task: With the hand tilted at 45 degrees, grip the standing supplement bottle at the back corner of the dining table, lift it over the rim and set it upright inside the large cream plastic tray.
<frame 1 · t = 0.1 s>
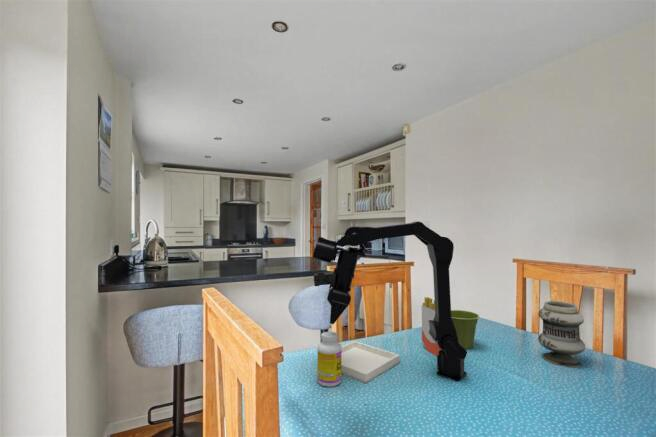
hand: (332, 318, 92), 15 cm above the table, tool pointing down, fingers open, 9 cm apart
tray: (359, 363, 98), on the table
supplement bottle: (329, 382, 86), on the table
french fries container: (436, 352, 107), on the table
plant pot: (461, 346, 113), on the table
apothecary jar: (561, 360, 100), on the table
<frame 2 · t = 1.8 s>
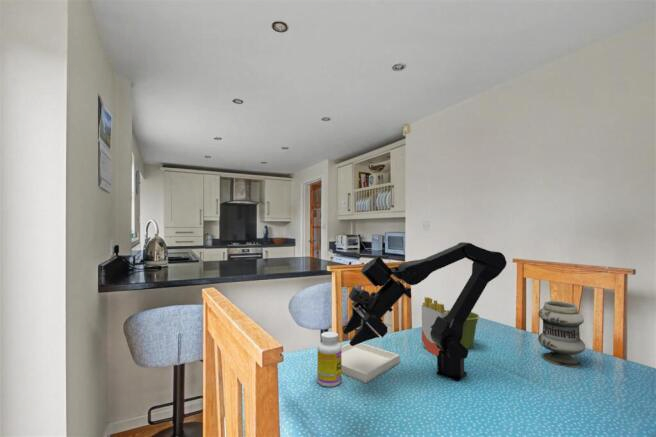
hand: (347, 338, 87), 11 cm above the table, tool tilted 45°, fingers open, 9 cm apart
nothing on the table moved.
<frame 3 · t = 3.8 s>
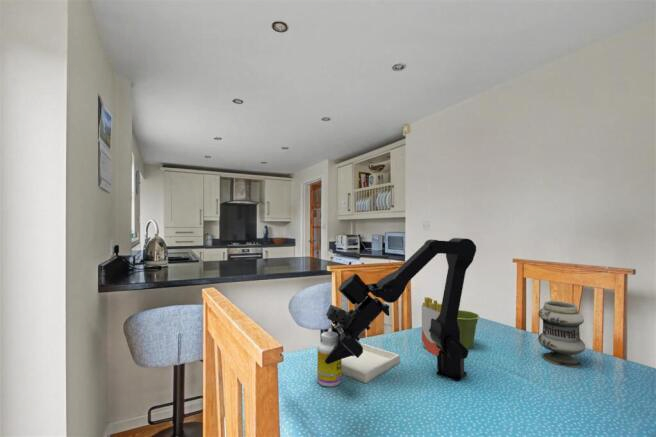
hand: (324, 357, 86), 7 cm above the table, tool tilted 45°, fingers closed on supplement bottle, 7 cm apart
supplement bottle: (329, 382, 86), on the table, touching gripper
everything else where it was.
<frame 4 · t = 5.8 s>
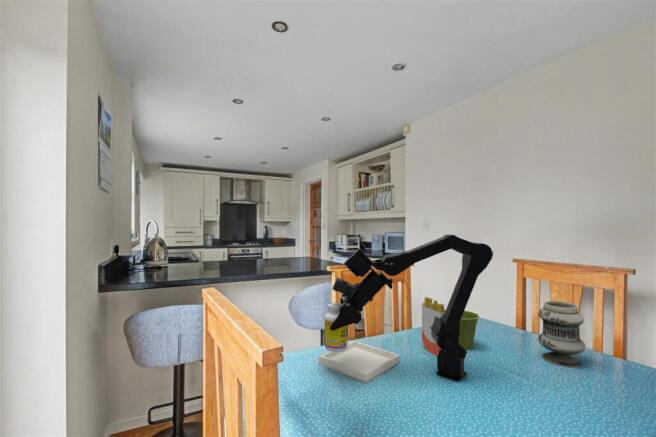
hand: (331, 325, 93), 13 cm above the table, tool tilted 45°, fingers closed on supplement bottle, 7 cm apart
supplement bottle: (336, 349, 93), point 6 cm above the table, touching gripper
everything else where it was.
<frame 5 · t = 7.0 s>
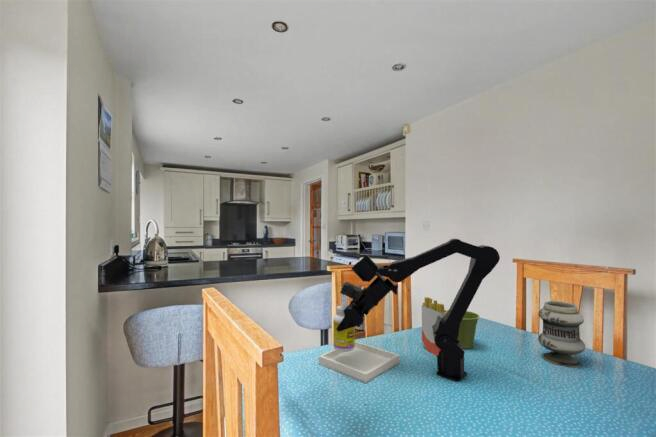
hand: (339, 326, 99), 11 cm above the table, tool tilted 45°, fingers closed on supplement bottle, 7 cm apart
supplement bottle: (344, 349, 98), point 4 cm above the table, touching gripper
everything else where it was.
when the fingers open (8 cm above the table, at t = 8.1 s): supplement bottle stays where it is, resting on tray.
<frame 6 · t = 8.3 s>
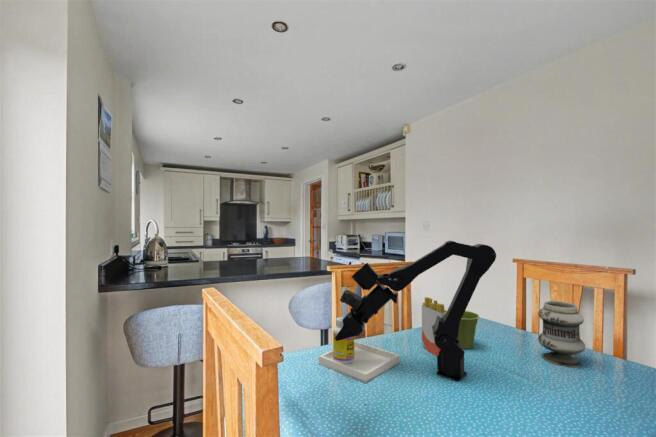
hand: (339, 334, 99), 9 cm above the table, tool tilted 45°, fingers open, 9 cm apart
supplement bottle: (343, 361, 98), resting on tray
everything else where it was.
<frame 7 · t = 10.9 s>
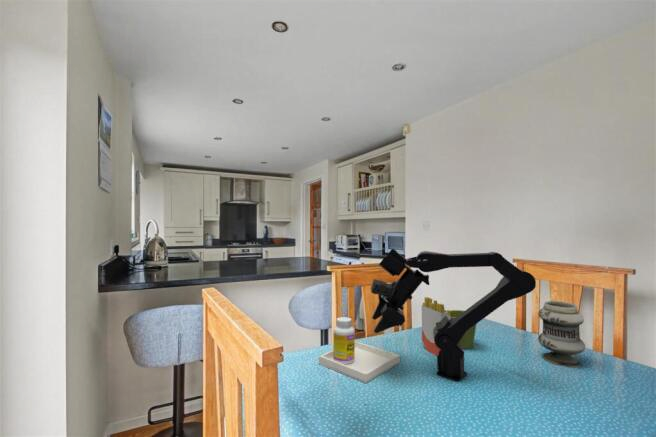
hand: (374, 325, 97), 12 cm above the table, tool tilted 35°, fingers open, 9 cm apart
nothing on the table moved.
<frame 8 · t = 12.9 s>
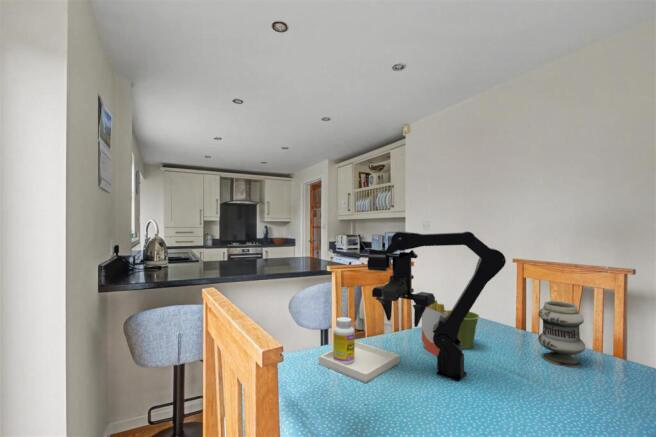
hand: (402, 323, 96), 13 cm above the table, tool pointing down, fingers open, 9 cm apart
nothing on the table moved.
at the end: supplement bottle inside the target area on the tray (4.9 cm from its centre), point 0.4 cm above the tray's base; supplement bottle tilted 0°; the gripper is holding nothing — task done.
